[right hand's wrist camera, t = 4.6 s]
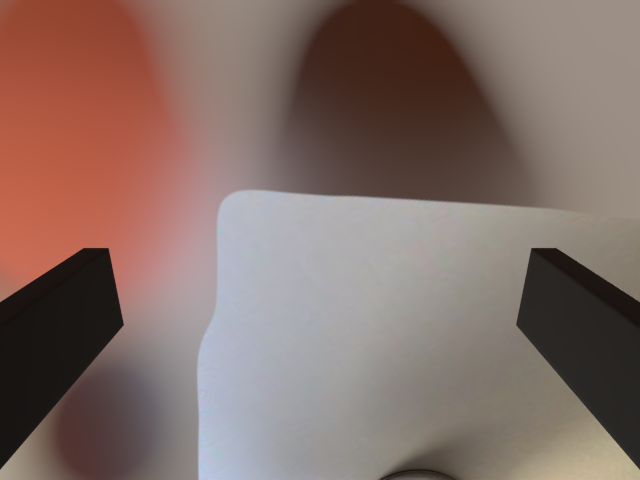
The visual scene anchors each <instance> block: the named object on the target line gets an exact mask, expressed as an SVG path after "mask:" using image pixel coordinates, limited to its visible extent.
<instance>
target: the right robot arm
mask: <svg viewBox="0 0 640 480" xmlns="http://www.w3.org/2000/svg"><path fill="white" fill-rule="evenodd" d="M123 325H124V324H123V319H122V314H121V309H120V304H119V299H118V294H117V289H116V284H115V278H114V273H113V268H112V263H111V258H110V253H109V249H108V248H83V249H82V250H80V251H79V252H77V253H76V254H74V255H73V256H71V257H70V258H68V259H66V260H65V261H63V262H62V263H60V264H59V265H57V266H56V267H54V268H52V269H51V270H49V271H48V272H46V273H45V274H43V275H42V276H40V277H39V278H37V279H35V280H34V281H32V282H31V283H29V284H28V285H26V286H25V287H23V288H22V289H20V290H19V291H17V292H15V293H14V294H12V295H11V296H9V297H8V298H6V299H5V300H3V301H1V302H0V469H1V468H2V467H3V466H4V465H5V463H6V462H7V461H8V460H9V459H10V458H11V456H12V455H13V454H14V453H15V452H16V450H17V449H18V448H19V447H20V446H21V445H22V444H23V442H24V441H25V440H26V439H27V438H28V436H29V435H30V434H31V433H32V432H33V431H34V429H35V428H36V427H37V426H38V425H39V423H40V422H41V421H42V420H43V419H44V418H45V417H46V415H47V414H48V413H49V412H50V411H51V410H52V408H53V407H54V406H55V405H56V404H57V403H58V401H59V400H60V399H61V398H62V397H63V395H64V394H65V393H66V392H67V391H68V390H69V388H70V387H71V386H72V385H73V384H74V383H75V381H76V380H77V379H78V378H79V377H80V376H81V374H82V373H83V372H84V371H85V370H86V369H87V367H88V366H89V365H90V364H91V363H92V362H93V360H94V359H95V358H96V357H97V356H98V354H99V353H100V352H101V351H102V350H103V349H104V348H105V346H106V345H107V344H108V343H109V342H110V341H111V339H112V338H113V337H114V336H115V335H116V333H117V332H118V331H119V330H120V329H121V328H122V326H123ZM516 325H517V326H518V328H519V329H520V330H521V331H522V332H523V333H524V335H525V336H526V337H527V338H528V339H529V341H530V342H531V343H532V344H533V345H534V346H535V348H536V349H537V350H538V351H539V352H540V353H541V355H542V356H543V357H544V358H545V359H546V360H547V362H548V363H549V364H550V365H551V366H552V367H553V369H554V370H555V371H556V372H557V373H558V374H559V376H560V377H561V378H562V379H563V380H564V381H565V383H566V384H567V385H568V386H569V387H570V388H571V390H572V391H573V392H574V393H575V394H576V396H577V397H578V398H579V399H580V400H581V401H582V403H583V404H584V405H585V406H586V407H587V408H588V410H589V411H590V412H591V413H592V414H593V415H594V417H595V418H596V419H597V420H598V421H599V422H600V424H601V425H602V426H603V427H604V428H605V429H606V431H607V432H608V433H609V434H610V435H611V436H612V438H613V439H614V440H615V441H616V442H617V444H618V445H619V446H620V447H621V448H622V449H623V451H624V452H625V453H626V454H627V455H628V456H629V458H630V459H631V460H632V461H633V462H634V463H635V465H636V466H637V467H638V468H639V469H640V302H639V301H637V300H635V299H634V298H632V297H631V296H629V295H628V294H626V293H625V292H623V291H622V290H620V289H618V288H617V287H615V286H614V285H612V284H611V283H609V282H608V281H606V280H605V279H603V278H601V277H600V276H598V275H597V274H595V273H594V272H592V271H591V270H589V269H588V268H586V267H584V266H583V265H581V264H580V263H578V262H577V261H575V260H574V259H572V258H571V257H569V256H567V255H566V254H564V253H563V252H561V251H560V250H558V249H557V248H531V253H530V258H529V263H528V268H527V273H526V278H525V284H524V289H523V294H522V299H521V304H520V309H519V314H518V319H517V324H516ZM383 480H453V479H452V478H450V477H448V476H446V475H443V474H440V473H437V472H432V471H423V470H416V471H406V472H401V473H397V474H394V475H392V476H389V477H387V478H385V479H383Z"/></svg>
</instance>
